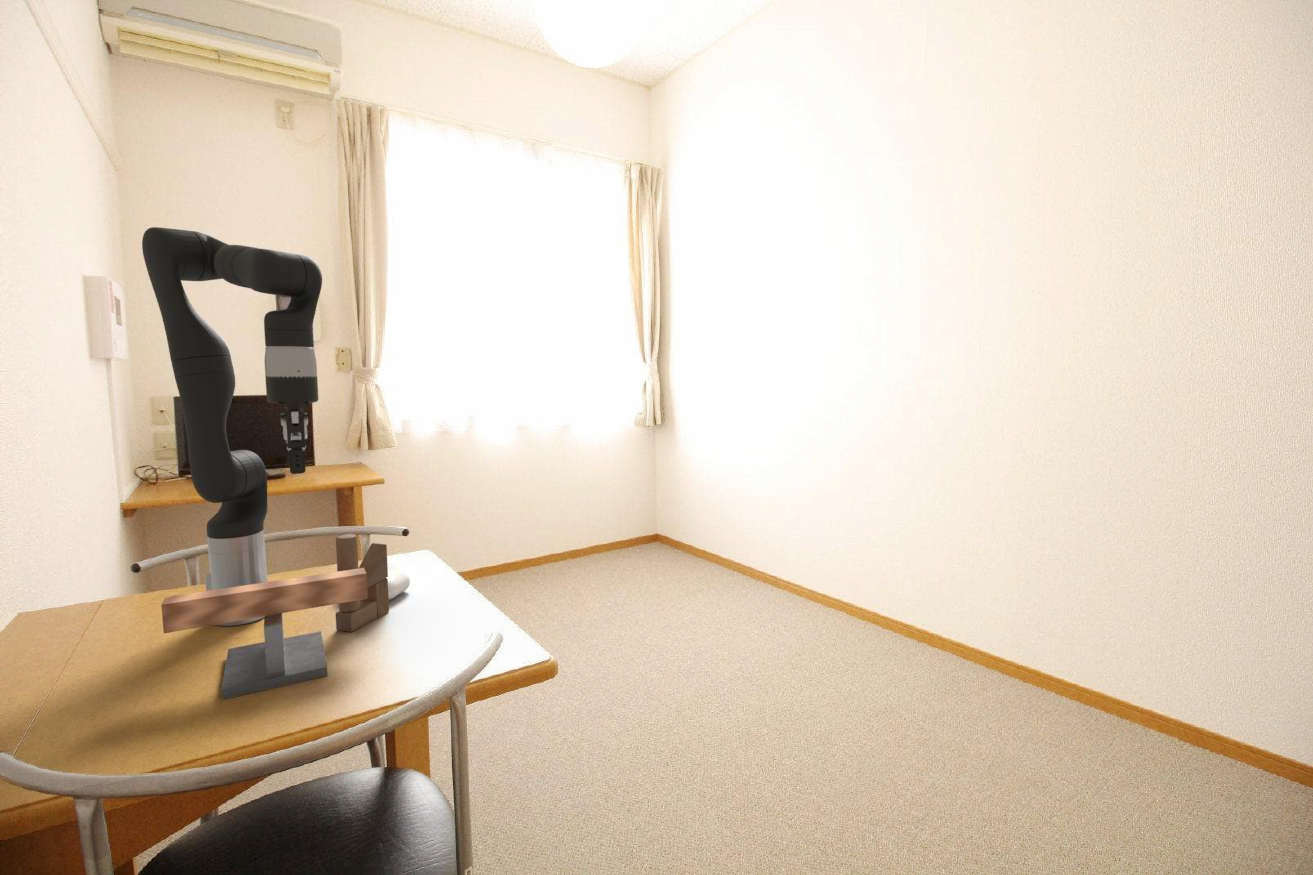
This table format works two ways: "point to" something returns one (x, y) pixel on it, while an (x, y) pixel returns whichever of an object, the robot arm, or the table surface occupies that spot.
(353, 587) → the bar
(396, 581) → the earbud case
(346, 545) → the brown wooden block stack
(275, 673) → the stand
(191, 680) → the table surface
